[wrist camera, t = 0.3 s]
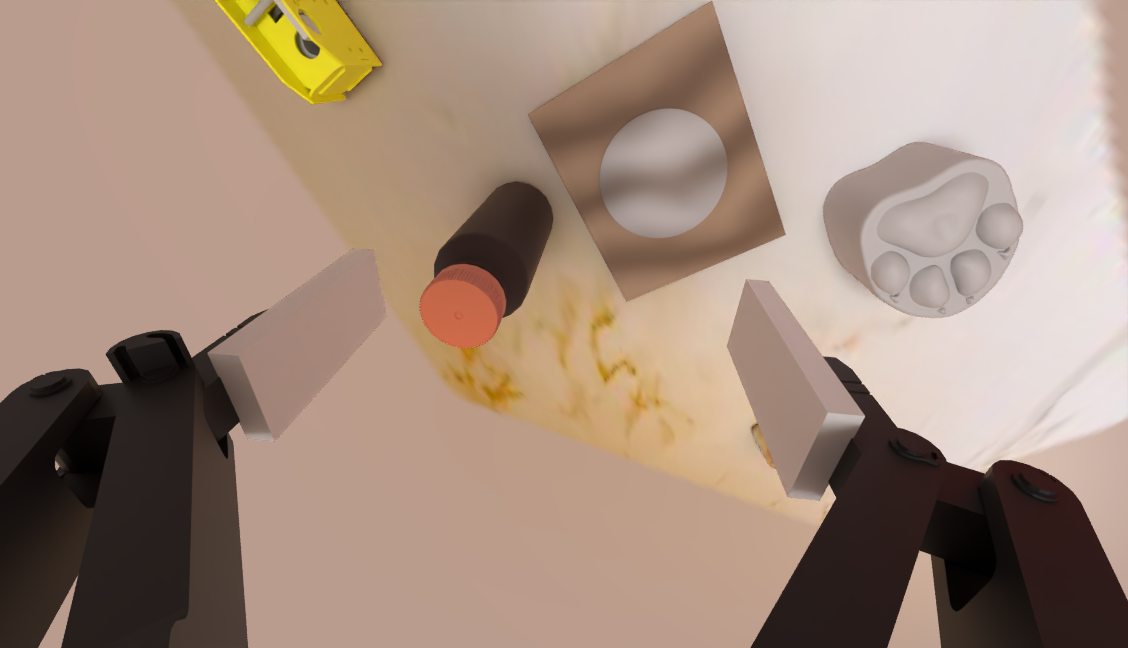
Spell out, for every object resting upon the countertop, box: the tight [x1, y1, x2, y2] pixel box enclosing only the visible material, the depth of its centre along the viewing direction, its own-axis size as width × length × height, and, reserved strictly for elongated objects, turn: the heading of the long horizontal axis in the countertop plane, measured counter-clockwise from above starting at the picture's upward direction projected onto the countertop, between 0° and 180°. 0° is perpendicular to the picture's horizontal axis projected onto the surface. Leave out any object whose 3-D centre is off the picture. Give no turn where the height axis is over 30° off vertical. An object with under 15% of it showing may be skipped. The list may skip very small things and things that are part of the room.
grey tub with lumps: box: [823, 142, 1023, 318], centre depth 37 cm, size 10×13×9 cm
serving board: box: [528, 1, 786, 302], centre depth 39 cm, size 20×16×2 cm
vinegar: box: [419, 182, 553, 348], centre depth 35 cm, size 7×7×20 cm
